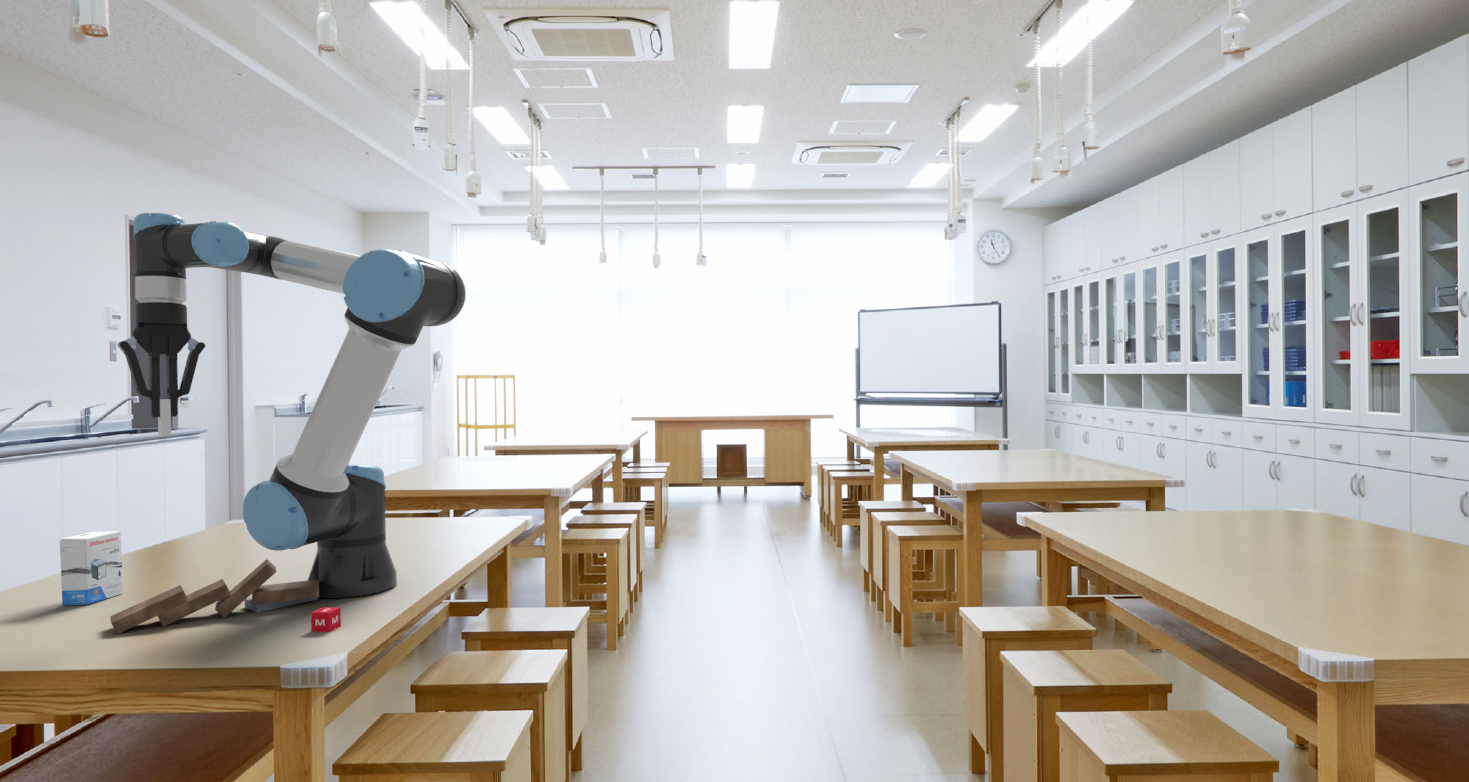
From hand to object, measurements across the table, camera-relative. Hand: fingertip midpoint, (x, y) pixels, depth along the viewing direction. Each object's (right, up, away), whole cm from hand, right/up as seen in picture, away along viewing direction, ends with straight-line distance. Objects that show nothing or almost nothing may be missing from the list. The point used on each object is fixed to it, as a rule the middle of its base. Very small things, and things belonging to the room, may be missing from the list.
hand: (164, 435), depth 148 cm
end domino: (+4, -29, -18) cm, 34 cm away
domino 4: (+19, -29, -7) cm, 35 cm away
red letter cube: (+38, -29, -18) cm, 51 cm away
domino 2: (+16, -29, -10) cm, 34 cm away
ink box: (-15, -30, +2) cm, 33 cm away
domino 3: (+19, -27, -7) cm, 34 cm away
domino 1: (+9, -29, -14) cm, 33 cm away
